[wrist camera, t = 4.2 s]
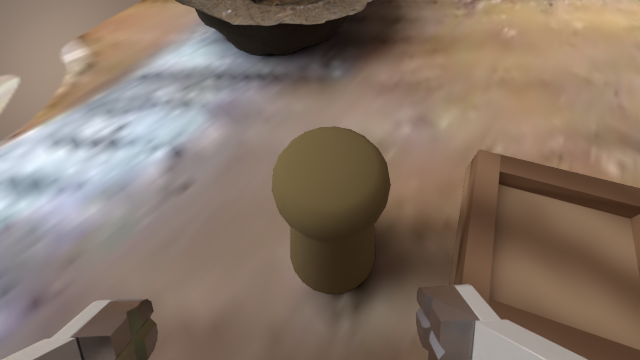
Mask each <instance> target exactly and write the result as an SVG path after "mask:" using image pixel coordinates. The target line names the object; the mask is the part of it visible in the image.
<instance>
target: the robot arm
mask: <svg viewBox="0 0 640 360" xmlns="http://www.w3.org/2000/svg"><path fill="white" fill-rule="evenodd" d="M417 301H418V303H419V305H420V307H421V308H420V309H419V310H418V311H417V313H416V324H417V331H418V335H419V339H420V342H421V344H422V346H423V348H425V349H426V350H427V351H429V353H428V360H587V359H585V358H583V357H581V356H579V355H577V354H575V353H573V352H571V351H569V350H567V349H565V348H563V347H561V346H559V345H557V344H555V343H553V342H551V341H549V340H547V339H545V338H543V337H541V336H539V335H537V334H535V333H533V332H531V331H529V330H527V329H525V328H523V327H521V326H519V325H517V324H515V323H513V322H511V321H509V320H501V319H500V318H499V317H498V315H497V314H496V313H495V312H494V311H493V310H492V308H491V307H490V306H489V305H488V304H487V303H486V301H485V300H484V299H483V298H482V297H481V296H480V295H479V293H478V292H477V291H476V290H475V289H474V288H473V286H471V285H469V284H461V285H452V286H437V287H420V288H418V291H417ZM152 313H153V307H152V303H151V301H150V300H148V299H116V300H98V301H94V302H93V303H91V304H90V305H89V306H88V307H87V308H86V309H84V310H83V311H82V312H81V313H80V314H79V315H77V316H76V317H75V318H74V319H73V320H72V321H70V322H69V323H68V324H67V325H66V326H65V327H63V328H62V329H61V330H60V331H59V332H58V333H57V334H55V335H54V336H53V337H52V338H51V339H44V340H42V341H40V342H38V343H35V344H33V345H31V346H29V347H27V348H25V349H23V350H21V351H19V352H17V353H14V354H12V355H10V356H8V357H6V358H4V359H2V360H147V359H148V358H149V357H150V355H151V354H152V352H153V351H154V348H155V345H156V342H157V334H158V330H157V325H156V323H155V322H154V321H153V320H152V319H151V318H150V316H151V315H152Z"/></svg>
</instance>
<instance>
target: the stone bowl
mask: <svg viewBox="0 0 640 360" xmlns="http://www.w3.org/2000/svg"><path fill="white" fill-rule="evenodd" d="M176 1H177V2H179V3H181V4H183V5H186V6H190V7H193V8H195V10H196V12H197V14H198V16H199V18H200V19H201V20H202V21H203V22H204V24H205V25H208V26H210V27H212V28H214V29H216V30H218V31H219V32H220V33H222V34H223V35H224V36H225V37H226V38H227V40H228V41H229V42H231V43H232V44H233V45H234V46H235V47H236V48H238V49H239V50H242V51H245V52H247V53H250V54H254V55H264V54H268V53H273V54H278V55H285V54H289V53H291V52H296V51H297V50H299V49H300V48H304V47H307V46H311V45H315V44H317V43H319V42H323V41H327V40H329V39H330V38H331V37H332V36H333V35H334V34H335V32H336V31H337V29H338V28H339V27H340V25H341V24H342V23H343V21H344V20H345V18H346V17H347V16H348V15H353V14H354V13H358V12H361V11H362V10H364V8H365V7H366V3H368V2H371V1H372V0H176Z"/></svg>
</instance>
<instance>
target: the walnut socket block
mask: <svg viewBox="0 0 640 360" xmlns="http://www.w3.org/2000/svg"><path fill="white" fill-rule="evenodd" d="M461 284H469V285H471V286H473V288H474V289H475V290H476V291H477V292H478V293H479V295H480V296H481V297H482V298H483V299H484V300H485V301H486V303H487V304H488V305H489V306H490V307H491V308H492V310H493V311H494V312H495V313H496V314H497V315H498V317H499V318H500V319H501V320H509V321H511V322H513V323H515V324H517V325H519V326H521V327H523V328H525V329H527V330H529V331H531V332H533V333H535V334H537V335H539V336H541V337H543V338H545V339H547V340H549V341H551V342H553V343H555V344H557V345H559V346H561V347H563V348H565V349H567V350H569V351H571V352H573V353H575V354H577V355H579V356H581V357H583V358H585V359H587V360H640V188H637V187H632V186H628V185H624V184H620V183H616V182H612V181H608V180H603V179H599V178H595V177H591V176H587V175H583V174H579V173H574V172H570V171H566V170H562V169H558V168H554V167H550V166H546V165H541V164H537V163H533V162H529V161H525V160H521V159H517V158H512V157H508V156H504V155H500V154H496V153H492V152H488V151H484V150H479V151H478V152H477V154H476V155H475V157H474V158H473V160H472V161H471V162H470V164H469V165H468V167H467V169H466V176H465V183H464V190H463V196H462V203H461V210H460V216H459V223H458V230H457V237H456V243H455V250H454V257H453V263H452V270H451V277H450V284H449V286H452V285H461Z"/></svg>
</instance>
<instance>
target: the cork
mask: <svg viewBox="0 0 640 360" xmlns="http://www.w3.org/2000/svg"><path fill="white" fill-rule="evenodd" d="M390 185H391V184H390V178H389V173H388V167H387V162H386V161H385V159H384V157H383V156H382V154H381V152H380V151H379V149H378V148H377V147H376V146H375V145H374V144H373V143H371V142H370V141H369V140H368V139H367V138H366V137H365V136H363V135H361V134H359V133H357V132H355V131H353V130H350V129H345V128H340V127H320V128H317V129H313V130H310V131H307V132H305V133H303V134H301V135H300V136H298V137H297V138H295V139H293V140H292V141H291V143H290V144H289V145H288V146H287V147H286V148H285V149H284V150H283V151H282V153H281V154H280V155H279V157H278V160H277V162H276V164H275V167H274V169H273V181H272V193H273V196H274V199H275V202H276V205H277V208H278V210H279V213H280V214H281V215H282V217H283V218H284V219H285V220H286V222H287V223H288V224H289V225H290V258H291V261H292V264H293V268H294V271H295V272H296V274H297V275H298V276H299V278H300V279H301V280H302V282H303V283H305V284H306V285H308V286H309V287H311V288H312V289H313V290H316V291H319V292H323V293H326V294H340V293H344V292H347V291H350V290H352V289H355V288H356V287H357V286H359V285H360V284H361V283H362V282H363V281H364V280H366V278H367V277H368V275H369V273H370V271H371V270H372V268H373V265H374V259H375V254H376V253H375V235H374V223H375V222H376V221H377V220H378V218H379V217H380V215H381V213H382V212H383V210H384V209H385V207H386V204H387V201H388V196H389V191H390Z"/></svg>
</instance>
